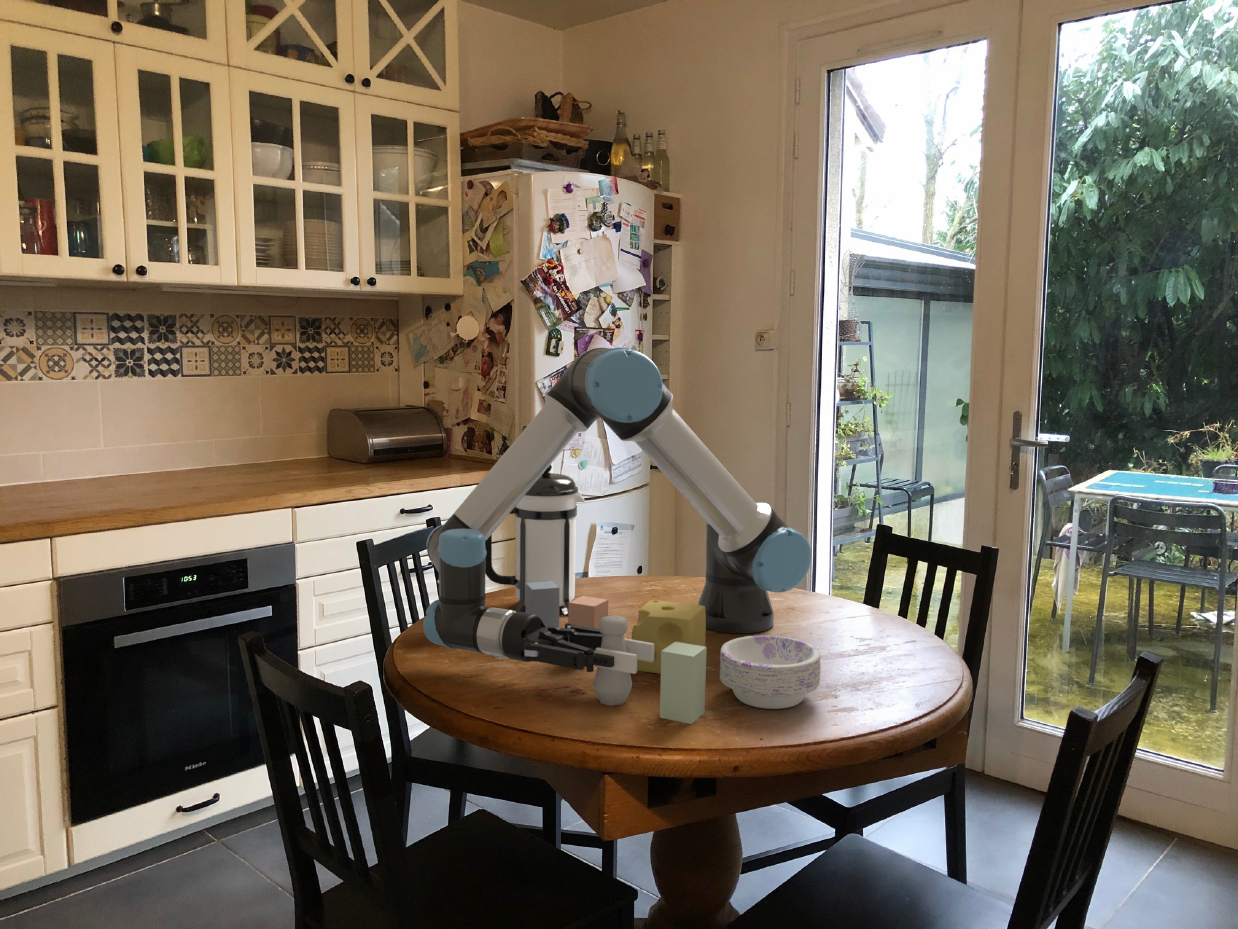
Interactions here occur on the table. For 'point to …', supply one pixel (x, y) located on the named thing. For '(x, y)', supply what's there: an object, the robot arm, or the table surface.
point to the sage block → (683, 682)
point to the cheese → (668, 628)
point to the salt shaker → (609, 682)
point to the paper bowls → (770, 670)
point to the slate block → (543, 601)
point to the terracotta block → (587, 611)
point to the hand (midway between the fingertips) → (644, 658)
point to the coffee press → (543, 538)
